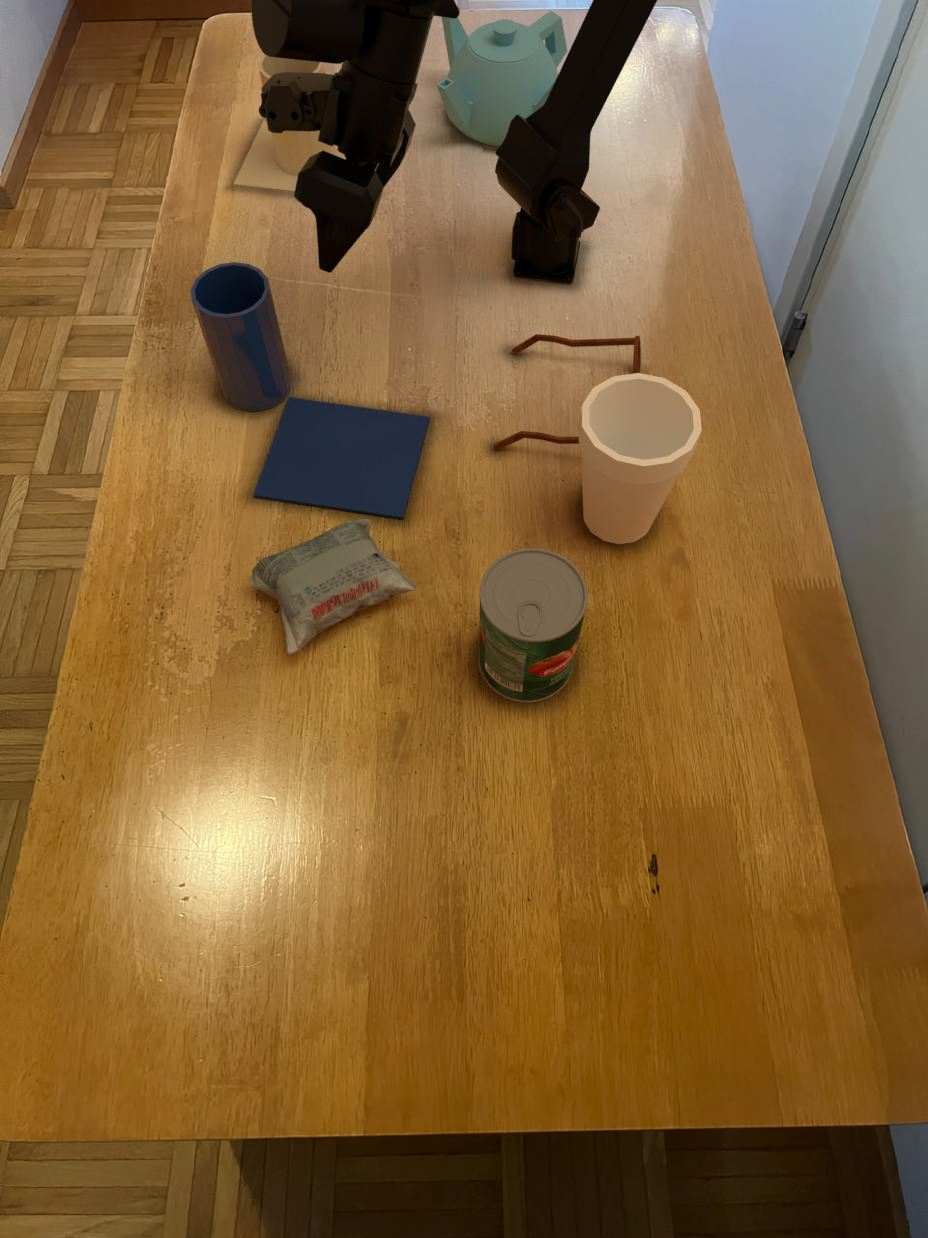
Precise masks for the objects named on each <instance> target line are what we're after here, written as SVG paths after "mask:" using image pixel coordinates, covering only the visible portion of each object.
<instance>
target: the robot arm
mask: <svg viewBox="0 0 928 1238" xmlns="http://www.w3.org/2000/svg"><path fill="white" fill-rule="evenodd" d="M657 2H658V0H592V1H591V4H590V6H589V8H588V10H587V12H586V15H585V16H584V19H583V21H582V23H581V25H580V27H579V29H578V32H577V34H576V36H575V38H574V41H573V42H572V44H571V47H570V48H569V51H568V53H567V55H566V57H565V60H564V62H563V64H562V66H561V68H560V70H559V72H558V76H557V79H556V81H555V83H554V85H553V87H552V89H551V91H550V94H549V96H548V98H547V100H546V102H545V103H544V105H543V106H542V107H540V108H539V109H538V110H536V111H535V112H534V113H532V114H531V115H529V116H528V117H527V118H523V117H521V116H520V115H516V116H515V117H514V118H513V119H512V120H511V122H510V125H509V129H508V132H507V134H506V137H505V139H504V141H503V143H502V144H501V146H500V147H498V148H497V149H496V151H494V152H495V155H496V156H497V157H498V158H497V161H496V163H495V168H494V169H495V170H494V174H495V175H496V178H497V182H498V184H499V186H500V187H501V188H502V189H503V190H504V191H505V193H507V194H508V195H509V197H511V199H512V200H513V201H514V202H515V203H516V204H518V206H520V210H519V211H517V212H516V213H515V215H514V216H515V217H514V220H513V224H512V232H511V253H510V258H511V260H512V261H514V264H513V270H512V275H513V277H515V278H521V279H528V280H536V281H545V282H553V283H560V284H567V285H569V284H572V283H573V282H574V280H575V274H576V269H577V264H578V259H579V255H580V247H581V241H580V238H581V237H582V234H583V233H584V231H585V230H588V229H590V228H592V227H593V226H594V224H595V222H596V219H597V217H598V214H599V213H600V210H601V206H600V205H599V204H598V203H597V202H595V200H593V199H592V198H591V196H590V195H589V194H587V193H586V192H585V191H584V190H583V186H584V184H585V182H586V178H587V176H588V173H589V170H590V157H591V156H590V155H591V154H590V153H591V134H592V130H593V128H594V126H595V124H596V122H597V120H598V118H599V116H600V114H601V112H602V110H603V108H604V106H605V105H606V103H607V100H608V98H609V96H610V94H611V92H612V90H613V88H614V86H615V85H616V83H617V81H618V79H619V77H620V75H621V73H622V71H623V69H624V67H625V65H626V63H627V61H628V59H629V57H630V55H631V53H632V51H633V49H634V48H635V45H636V43H637V41H638V40H639V37H640V36H641V33H642V31H643V29H644V28H645V26H646V23H647V22H648V20H649V18H650V16H651V14H652V12H653V10H654V8H655V6H656V3H657ZM250 3H251V4H250V5H251V8H250V9H251V23H252V29H253V32H254V37H255V40H256V43H257V44H258V47H259V49H260V50H261V52H262V53H263V55H264V54H265V55H267V56H269V57H276V58H285V59H295V60H304V61H314V62H323V64H324V63H325V64H333V65H340V64H341V68H340V69H339V70H338V72H337V71H335V73H334V74H331V73H330V74H328V73H297V72H282V73H277V74H274V75H273V76H272V77H271V78H270V79H269V80H268V81H267V82H266V83H265V84H264V85H263V86H261V93H260V98H261V99H260V100H261V103H260V106H259V107H258V114H259V116H260V117H262V118H264V119H265V121H267V126H268V130H269V131H270V132H272V133H283V131H319V130H320V133H319V138H318V141H319V142H322V143H324V144H327V145H329V146H333V145H336V146H338V149H337V150H338V151H339V152H340V153H342V154H344V155H345V158H346V160H345V159H343V158H341V157H338V156H336V155H333V154H331V153H328V152H326V151H321V152H319V153H317V154H315V155H313V156H311V157H309V159H308V160H307V162H306V163H305V165H304V166H303V167H302V169H301V170H300V172H299V173H298V178H297V183H296V188H295V191H294V194H293V197H294V199H296V200H297V202H298V203H300V204H301V205H302V206H303V207H305V208H306V209H309V210H310V211H311V213H312V214H313V216H314V218H315V224H316V225H315V226H316V239H317V254H318V255H317V256H318V257H317V258H318V268H319V269H320V270H321V271H323V272H326V273H329V274H330V273H332V272H333V271H334V270H335V269H336V267H337V266H338V265H339V264H340V262H341V261H342V260H343V258H344V257H345V256H346V255H347V253H349V251H350V250H351V249H352V247H353V246H354V245H355V244H356V242H357V241H358V240H359V239H360V238H361V237H362V235H363V234H364V233H365V231H366V230H368V229H369V227H370V226H371V224H372V222H373V221H374V218H375V216H376V214H377V211H378V208H379V205H380V202H381V199H382V195H383V191H384V188H385V187H386V186H387V184H388V183H389V182H390V180H391V179H392V177H393V176H394V174H395V173H396V172H397V171H398V169H399V167H400V166H401V165H402V163H403V160H404V159H405V157H406V154H407V152H408V150H409V148H410V146H411V143H412V140H413V137H414V133H415V129H416V126H417V123H416V122H415V120H414V118H413V115H412V114H411V111H410V110H409V108H410V105H411V104H412V102H413V100H414V98H415V96H416V92H417V88H418V84H419V83H416V82H417V78H418V76H419V75H418V74H419V71H420V67H421V63H422V59H423V57H424V52H425V48H426V44H427V41H428V38H429V34H430V30H431V27H432V24H433V20H434V19H433V18H434V17H441V18H442V17H446V18H453V19H455V18H457V17H458V18H459V16H460V13H461V10H460V8H459V6H458V4H457V3H456V0H251V2H250Z"/></svg>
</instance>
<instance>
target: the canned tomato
mask: <svg viewBox="0 0 928 1238" xmlns="http://www.w3.org/2000/svg"><path fill="white" fill-rule="evenodd" d="M588 602H589V594H588V587H587V583H586V581H585V578H584V576H583V574H582V573H581V571H580V570H579V569H578V567H577V566H576V565H575V564H574V563H573V562H572V561H570V560H569V559H568V558H567V557H565V556H563V555H561V554H559V553H557V552H554V551H551V550H549V549H544V548H537V547H536V548H535V547H527V548H526V547H525V548H520V549H515V550H513V551H509V552H507V553H505V554H503V555H501V556H500V557H498V558H497V559H496V560H495V561H494V562H492V563H491V564H490V565H489V566H488V568H487V569H486V570H485V572H484V574H483V576H482V578H481V582H480V585H479V623H478V624H479V625H478V632H479V633H478V661H477V662H478V666H479V672H480V674H481V677H482V678H483V680H484V682H485V683H486V685H488V687H489V688H490V689H491V690H492V691H493V692H494V693H496V694H497V695H499V696H501V697H503V698H504V699H507V700H508V701H509V700H510V701H512V702H516V703H523V704H525V703H527V704H531V703H533V704H534V703H538V702H542V701H545V700H548V699H550V698H552V697H553V696H555V695H557V694H558V693H559V692H560V691H561V690H562V689H564V688H565V686H566V685H567V683H568V682H569V681H570V678H571V676H572V673H573V670H574V663H575V659H576V655H577V649H578V645H579V640H580V636H581V631H582V627H583V622H584V618H585V612H586V611H587V606H588Z"/></svg>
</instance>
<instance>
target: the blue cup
mask: <svg viewBox="0 0 928 1238" xmlns="http://www.w3.org/2000/svg"><path fill="white" fill-rule="evenodd" d="M190 298H191V299H190V300H191V303H192V306H193V309H194V312H195V315H196V318H197V321H198V324H199V327H200V330H201V333H202V336H203V339H204V342H205V345H206V348H207V351H208V354H209V358H210V359H211V360H210V361H211V364H212V366H213V369H214V372H215V375H216V378H217V381H218V384H219V387H220V391H221V393H222V394H223V397H224V399H225V400H226V401H227V403H228V404H230V405H231V406H232V407H234V408H236V409H237V410H240V411H244V412H254V413H255V412H262V411H267V410H270V409H272V408H274V407H276V406H278V405H279V404H280V403H282V402H283V401H284V400H285V399H286V398H287V397H288V395H289V394H290V392H291V390H292V389H291V388H292V383H293V382H292V375H291V371H290V367H289V362H288V357H287V353H286V350H285V349H286V348H285V344H284V341H283V336H282V332H281V328H280V324H279V319H278V316H277V311H276V306H275V301H274V298H273V294H272V290H271V285H270V281H269V278H268V277H267V275H266V274H265V273H264V271H262V269H260V268H258V267H257V266H254V265H252V264H250V263H245V262H237V261H231V262H226V263H219V264H216V265H214V266H211V267H209V268H207V269H205V270H204V271H203V272H201V273H200V274H199V275H198V276H197V277H196V278H195V279H194V281H193V283H192V286H191V288H190Z"/></svg>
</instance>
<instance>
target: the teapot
mask: <svg viewBox="0 0 928 1238" xmlns="http://www.w3.org/2000/svg"><path fill="white" fill-rule="evenodd" d="M441 23H442V30H443V35H444V40H445V46H446V47H445V48H446V52H447V60H448V64H449V65H448V66H449V70H448V71H449V72H448V74H447V77H445V78H444V79H442V80H441V81H439V82H438V83H437V84H436V88H437V90H438V94H439V97H440V99H441V101H442V103H443V106H444V109H445V113H446V115H447V117H448V120H449V121H450V122H451V123H452V124H453V125H454V126H455V128H457V130H459V131H460V132H461V133H462V134H463V135H465V136H466V137H468V138H469V139H471V140H474V141H476V142H478V143H481V144H484V145H485V146H488V147H489V146H490V147H498V148H499V147H500V146H501V144H502V143H503V141H504V139H505V137H506V134H507V132H508V129H509V125H510V122H511V120H512V119H513V118H514V117H515V116H516V115H520V116H521V117H523V118H527V117H528V116H529V115H531V114H532V113H534V112H535V111H536V110H538V109H539V108H540V107H542V106H543V105H544V103H545V102H546V100H547V98H548V96H549V94H550V91H551V89H552V87H553V85H554V83H555V81H556V79H557V76H558V74H559V72H558V67H559V66H560V64H561V62H562V61H563V59H564V57H565V56H566V54H568V53H567V52H568V47H567V40H566V36H565V29H564V24H563V17H562V16H560V15H559V14H557V13H556V12H553V11H552V10H548V12H546V13H545V14H543V15H542V16H540V17H539V18H538V19H536V21H533V23H531V24H530V25H525V24H523V23H520V22H516V21H514V20H511V19H508V18H507V19H505V18H503V19H499V20H496V21H493V22H489V23H485V24H483V25H481V26H479V27H477V28H476V29H474V30H473V31H472V32H471V33H470V34H469V35H468V34H467V32H466V30H465V28H464V27H463V24H462V23H461V21H460V18H459V16H458V17H457V18H455V19H453V18H446V17H441Z"/></svg>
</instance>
